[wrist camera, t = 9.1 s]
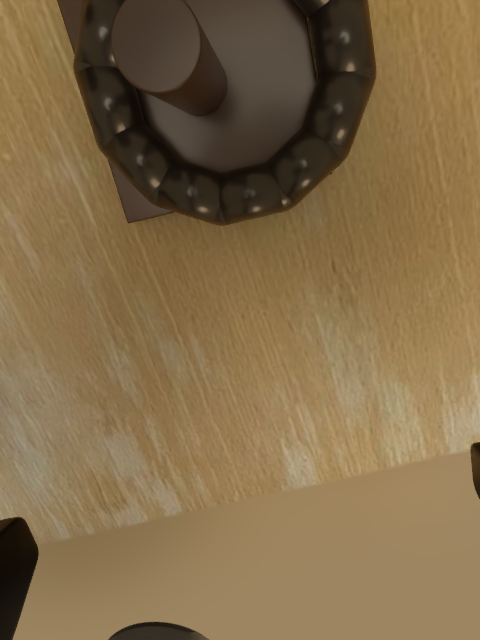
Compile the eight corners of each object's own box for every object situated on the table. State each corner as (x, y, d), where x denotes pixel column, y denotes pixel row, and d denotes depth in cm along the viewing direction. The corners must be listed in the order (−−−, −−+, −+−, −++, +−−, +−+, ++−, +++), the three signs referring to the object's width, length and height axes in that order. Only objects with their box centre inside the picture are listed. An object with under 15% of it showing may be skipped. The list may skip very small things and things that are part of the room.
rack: (328, 173, 18) (369, 186, 10) (134, 219, 19) (53, 260, 12) (287, -76, 15) (304, -278, 8) (64, -4, 16) (-94, -126, 9)
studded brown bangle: (383, 185, 17) (396, 188, 15) (137, 242, 18) (123, 251, 16) (342, -142, 13) (353, -184, 12) (47, -44, 15) (19, -69, 13)
